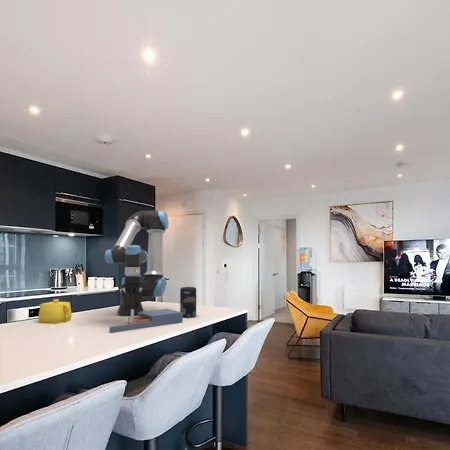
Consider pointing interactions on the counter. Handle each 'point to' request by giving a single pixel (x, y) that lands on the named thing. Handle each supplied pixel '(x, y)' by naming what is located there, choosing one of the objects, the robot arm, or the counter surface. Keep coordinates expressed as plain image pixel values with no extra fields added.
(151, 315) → the blue-grey box with strip
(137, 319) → the dish
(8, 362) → the counter surface
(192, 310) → the canister
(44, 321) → the teapot
